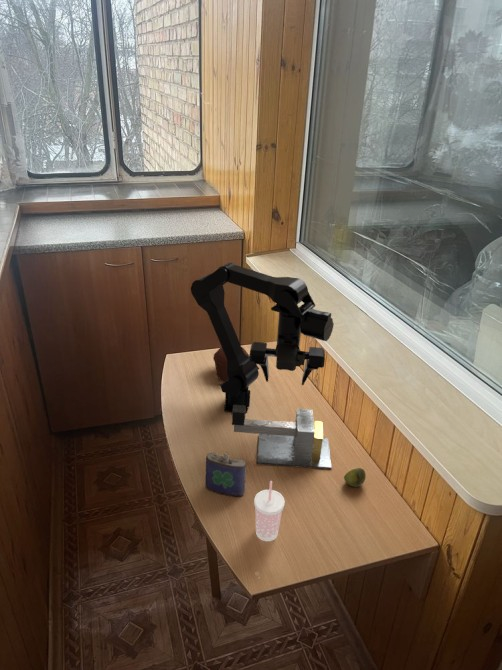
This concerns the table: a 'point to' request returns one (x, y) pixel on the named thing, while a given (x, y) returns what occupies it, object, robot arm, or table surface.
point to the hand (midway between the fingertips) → (284, 382)
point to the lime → (355, 477)
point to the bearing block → (294, 446)
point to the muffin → (222, 364)
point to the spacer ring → (317, 440)
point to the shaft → (260, 424)
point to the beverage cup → (268, 513)
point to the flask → (225, 475)
